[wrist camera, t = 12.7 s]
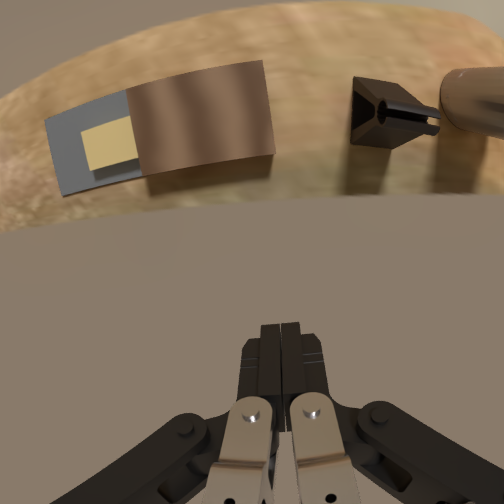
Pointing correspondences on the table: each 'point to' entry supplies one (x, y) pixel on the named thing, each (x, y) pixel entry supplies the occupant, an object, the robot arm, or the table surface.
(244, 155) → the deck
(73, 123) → the mat
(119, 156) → the yellow block
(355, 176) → the table surface
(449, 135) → the table surface
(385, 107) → the phone stand
